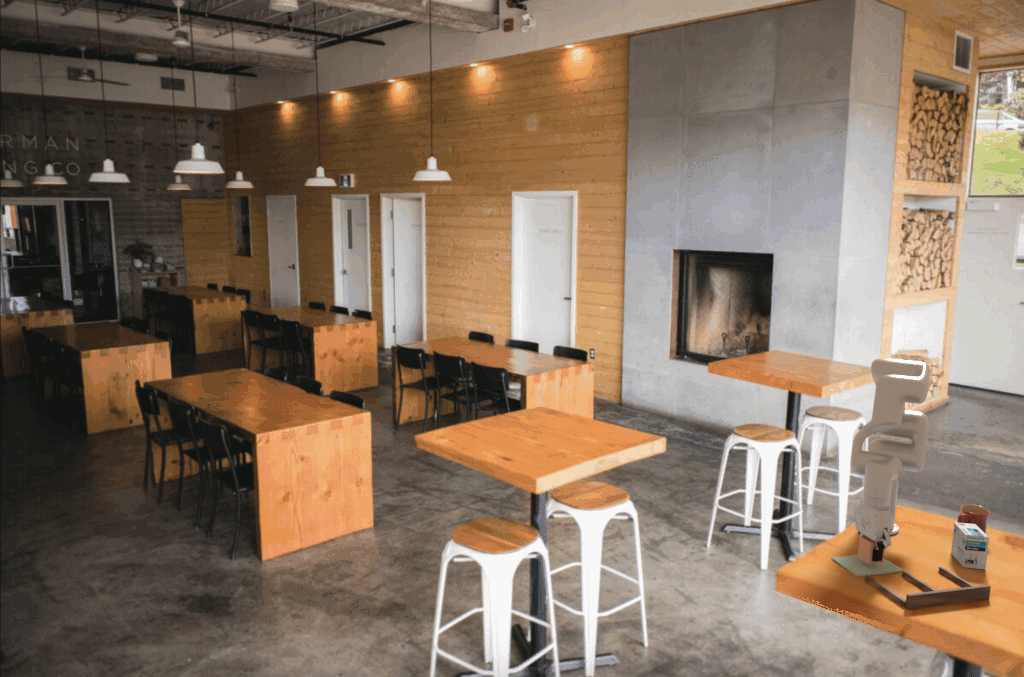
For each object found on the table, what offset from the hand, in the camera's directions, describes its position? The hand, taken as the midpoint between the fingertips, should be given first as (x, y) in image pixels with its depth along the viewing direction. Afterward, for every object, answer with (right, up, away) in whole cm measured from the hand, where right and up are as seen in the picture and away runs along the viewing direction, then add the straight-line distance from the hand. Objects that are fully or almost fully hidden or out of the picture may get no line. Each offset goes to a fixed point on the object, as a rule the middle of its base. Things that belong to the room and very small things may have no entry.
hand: (870, 556), depth 233 cm
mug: (+44, -1, +22) cm, 49 cm away
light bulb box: (+33, -3, +5) cm, 34 cm away
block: (0, -1, 0) cm, 1 cm away
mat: (0, -3, +2) cm, 4 cm away
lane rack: (+10, -6, -12) cm, 17 cm away
